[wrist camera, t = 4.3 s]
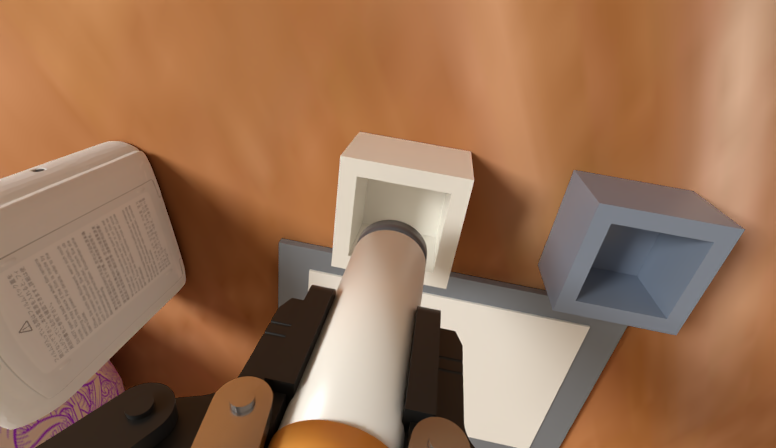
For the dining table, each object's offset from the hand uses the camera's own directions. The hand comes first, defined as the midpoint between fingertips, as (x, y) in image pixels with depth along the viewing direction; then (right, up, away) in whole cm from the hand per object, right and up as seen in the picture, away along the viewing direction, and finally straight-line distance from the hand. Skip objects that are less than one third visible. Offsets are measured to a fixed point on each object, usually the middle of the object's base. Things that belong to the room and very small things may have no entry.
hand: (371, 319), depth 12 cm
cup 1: (+1, +5, +10) cm, 11 cm away
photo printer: (-15, +3, +13) cm, 20 cm away
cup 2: (+12, +3, +9) cm, 15 cm away
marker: (+1, +2, +3) cm, 4 cm away
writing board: (+3, -6, +15) cm, 17 cm away
